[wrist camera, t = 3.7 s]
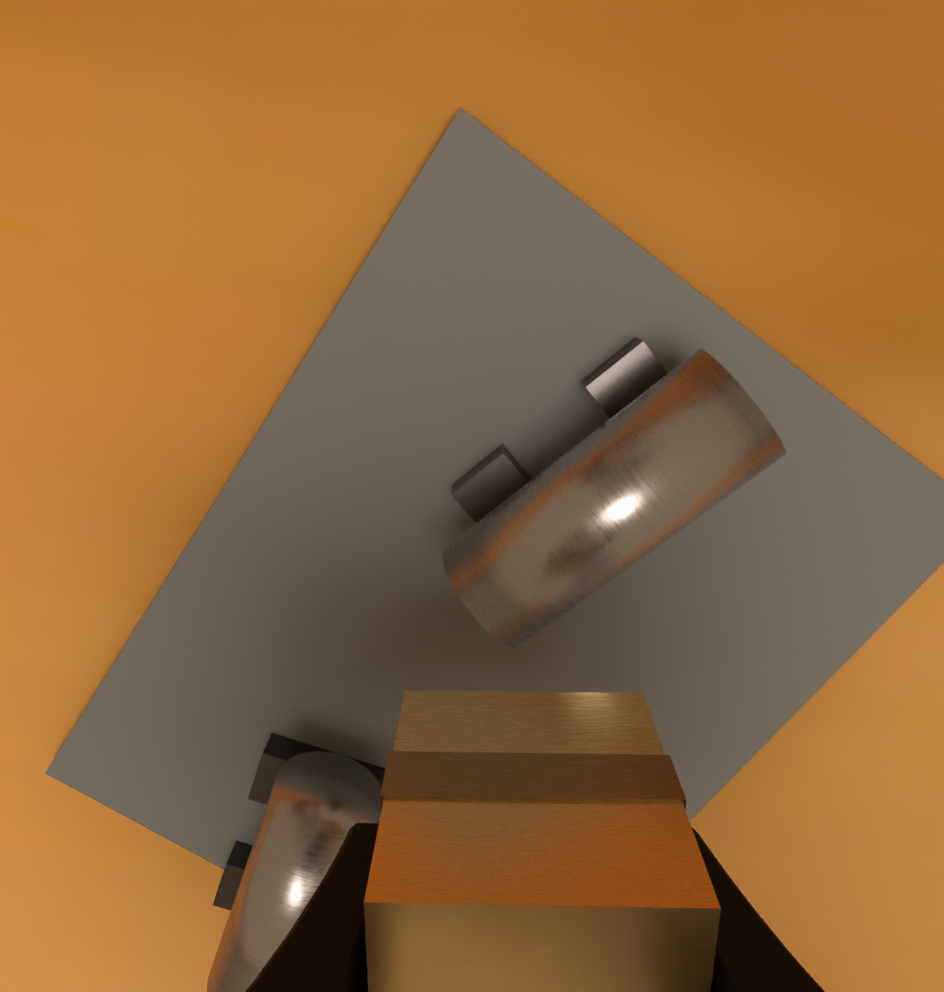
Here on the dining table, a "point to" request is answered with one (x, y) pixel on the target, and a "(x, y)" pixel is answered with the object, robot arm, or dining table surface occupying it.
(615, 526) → the shaft
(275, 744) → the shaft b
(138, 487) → the dining table surface
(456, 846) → the tan rectangular block
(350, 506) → the mat
